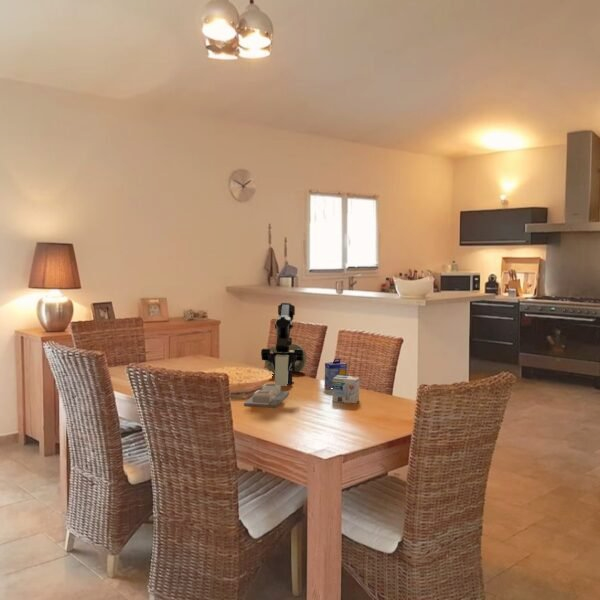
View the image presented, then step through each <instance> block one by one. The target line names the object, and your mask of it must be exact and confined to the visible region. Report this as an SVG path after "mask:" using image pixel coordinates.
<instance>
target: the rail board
mask: <svg viewBox="0 0 600 600" xmlns="http://www.w3.org/2000/svg"><path fill="white" fill-rule="evenodd" d="M288 395H290V391H285V390H284V391H283V390H282V386H275V383H264V384H262V387H261V389H257V390H256V391H255V392H254V393H253V395H252V396H251V397H249V399H247V400H246V401H245V402H244V403H243V406H246V407H247V406H248V407H260V408H261V407H263V408H278V406H279V405H280V404H281V403H282V402H283V401H284V400H285V399H286V398H287V397H288ZM286 396H287V397H286ZM285 397H286V398H285Z"/></svg>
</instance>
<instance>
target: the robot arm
mask: <svg viewBox="0 0 600 600" xmlns="http://www.w3.org/2000/svg"><path fill="white" fill-rule="evenodd" d="M277 315H278V317H277V319H276V321H275V323H274V329H276V343H275V347H276V352H274V351H270V349H269V348H261V350H260V351H261V352H260V355H261V361H265V360H268V361H269V362H271V364H272V366H273V368H274V371H275V358H274V356H276V355H289V360H288V385H291V383H292V384H294V383H295V381H293V373H294V372H296V371H295V362H296V361H302V360H303V350H302V349H294V352H290V345H292V344H293V342H292V341H293V338H292V337H291V330H292V329H293V328H294V323H293V321H294V316H295V315H296V306H295V305H293V304H292V303H291V302H281V303H280V305H278V306H277ZM291 368H292V369H291Z"/></svg>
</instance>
